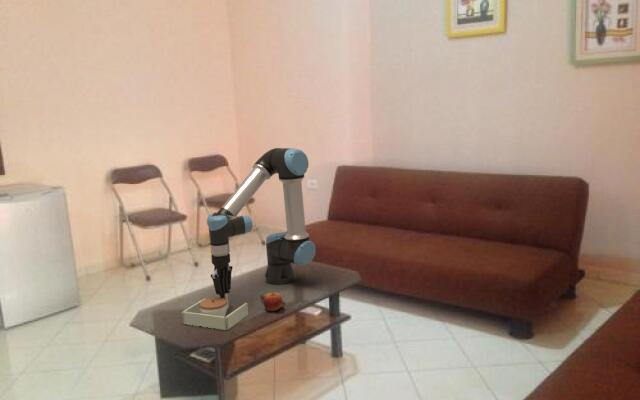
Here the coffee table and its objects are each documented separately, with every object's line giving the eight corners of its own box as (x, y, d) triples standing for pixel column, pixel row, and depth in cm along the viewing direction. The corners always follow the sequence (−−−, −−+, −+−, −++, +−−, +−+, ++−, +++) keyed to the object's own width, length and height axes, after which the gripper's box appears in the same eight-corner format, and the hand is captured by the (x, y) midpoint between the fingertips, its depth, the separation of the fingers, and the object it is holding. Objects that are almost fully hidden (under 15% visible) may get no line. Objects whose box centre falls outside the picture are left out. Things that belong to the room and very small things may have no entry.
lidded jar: (222, 326, 209) (220, 303, 207) (196, 325, 211) (194, 303, 209) (231, 315, 219) (230, 293, 217) (207, 315, 221) (205, 293, 219)
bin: (205, 309, 227) (204, 298, 226) (248, 314, 219) (247, 303, 218) (182, 324, 213) (181, 312, 212) (227, 330, 205) (226, 318, 204)
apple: (286, 309, 222) (285, 291, 221) (270, 314, 218) (269, 296, 216) (276, 304, 229) (275, 286, 227) (260, 309, 224) (259, 291, 223)
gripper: (221, 249, 225) (225, 302, 229) (203, 257, 213) (208, 313, 218) (236, 250, 222) (240, 303, 226) (219, 258, 210) (224, 315, 215)
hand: (224, 308), depth 222 cm, fingers closed
